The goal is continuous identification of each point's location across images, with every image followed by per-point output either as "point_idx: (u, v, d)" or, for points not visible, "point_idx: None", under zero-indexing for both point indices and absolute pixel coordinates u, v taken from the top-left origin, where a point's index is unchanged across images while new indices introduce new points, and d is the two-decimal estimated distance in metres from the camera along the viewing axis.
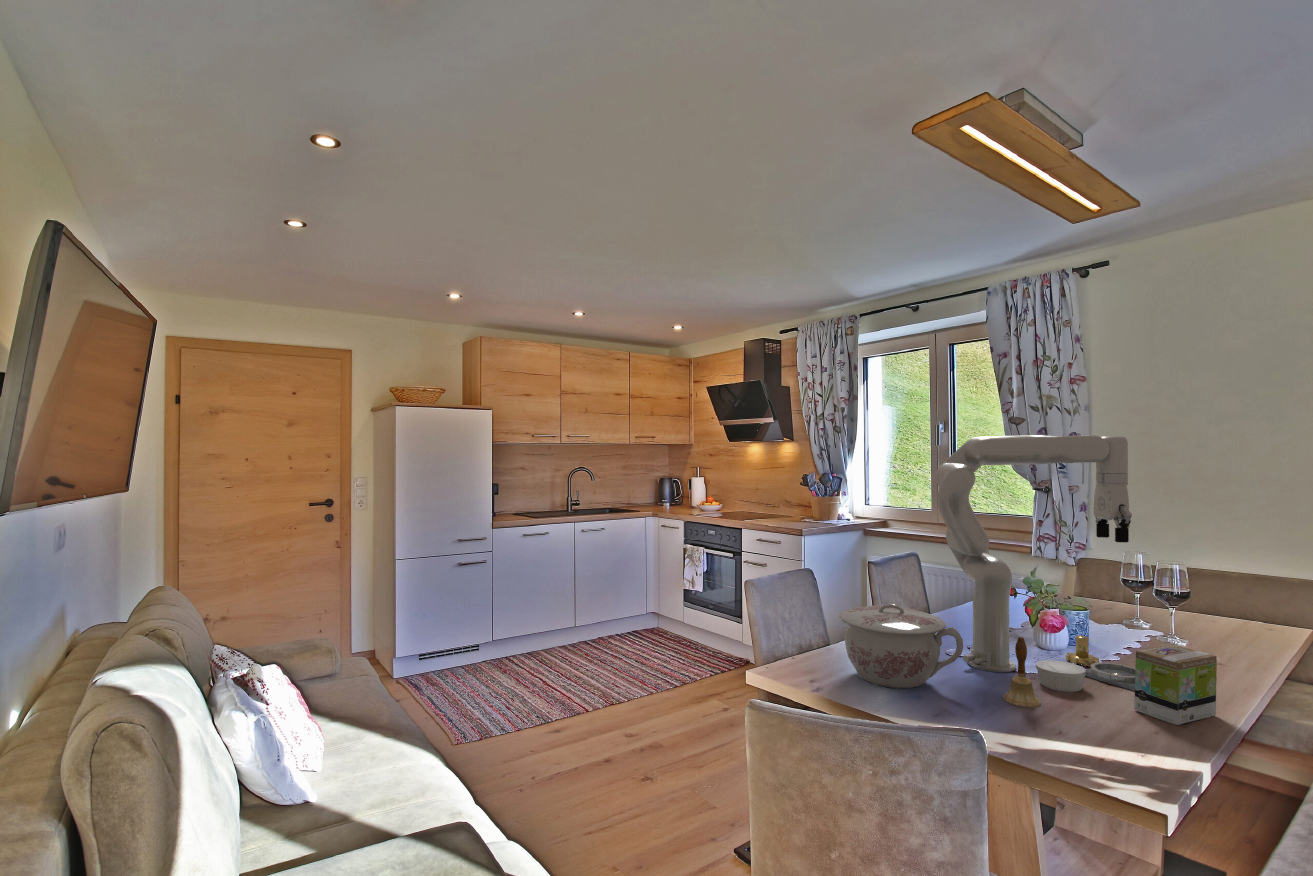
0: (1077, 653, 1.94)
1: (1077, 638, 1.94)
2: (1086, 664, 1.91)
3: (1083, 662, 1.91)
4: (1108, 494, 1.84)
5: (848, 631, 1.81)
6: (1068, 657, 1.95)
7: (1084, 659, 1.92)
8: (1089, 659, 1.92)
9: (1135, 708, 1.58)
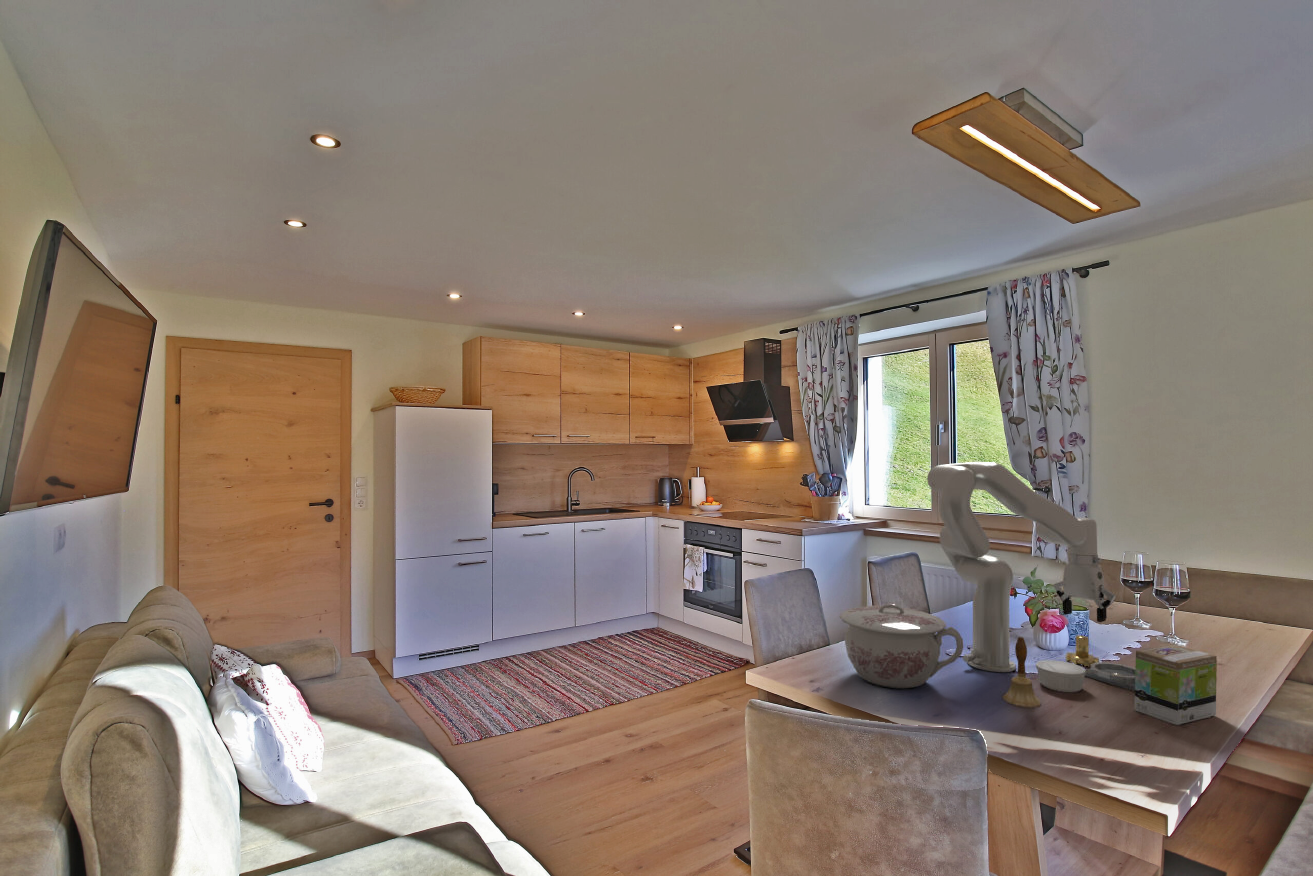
0: (1077, 653, 1.94)
1: (1077, 638, 1.94)
2: (1086, 664, 1.91)
3: (1083, 662, 1.91)
4: None
5: (848, 631, 1.81)
6: (1068, 657, 1.95)
7: (1084, 659, 1.92)
8: (1089, 659, 1.92)
9: (1135, 708, 1.58)
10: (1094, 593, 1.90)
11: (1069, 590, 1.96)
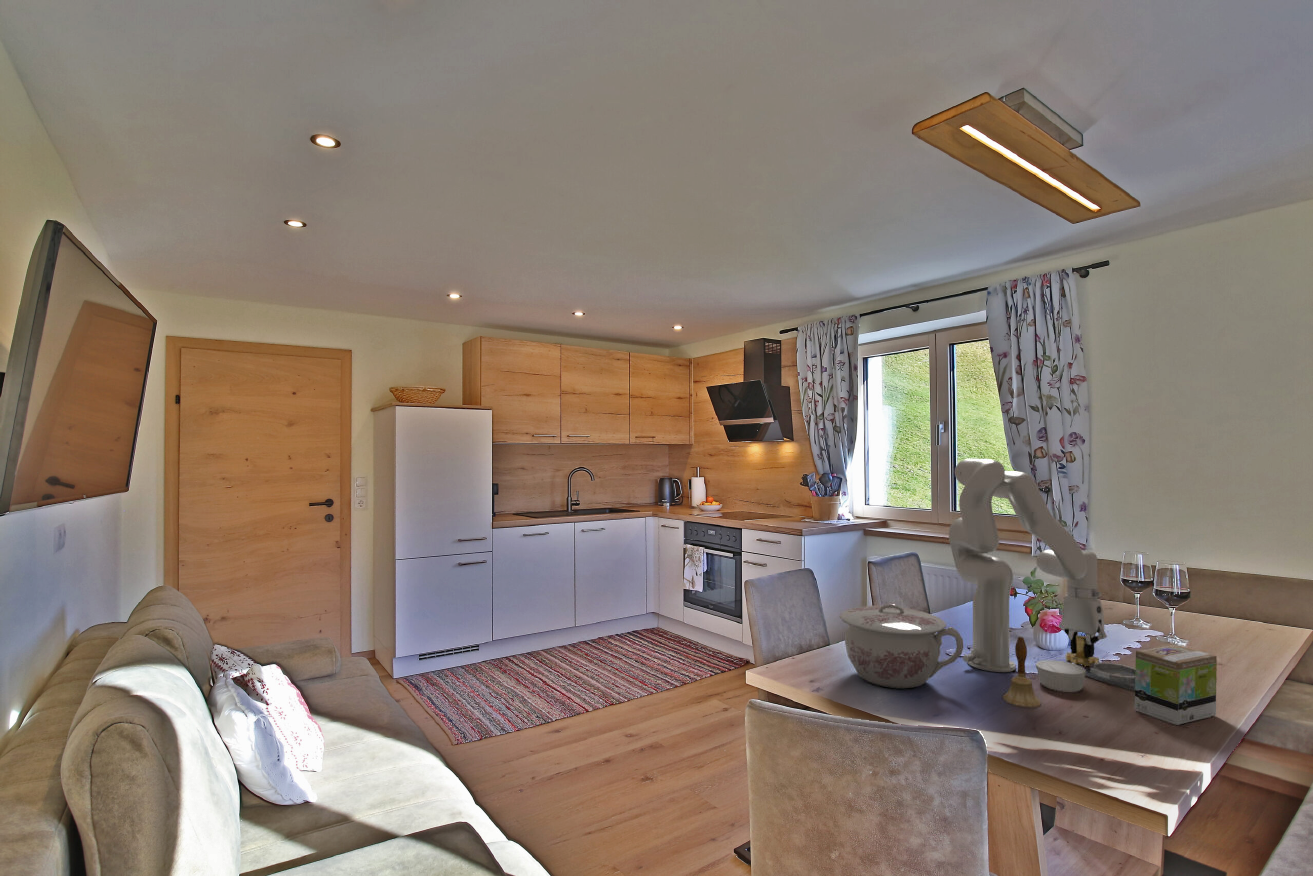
0: (1077, 653, 1.94)
1: (1077, 638, 1.94)
2: (1086, 664, 1.91)
3: (1083, 662, 1.91)
4: None
5: (848, 631, 1.81)
6: (1068, 657, 1.95)
7: (1084, 659, 1.92)
8: (1089, 659, 1.92)
9: (1135, 708, 1.58)
10: (1093, 627, 1.90)
11: (1068, 623, 1.96)
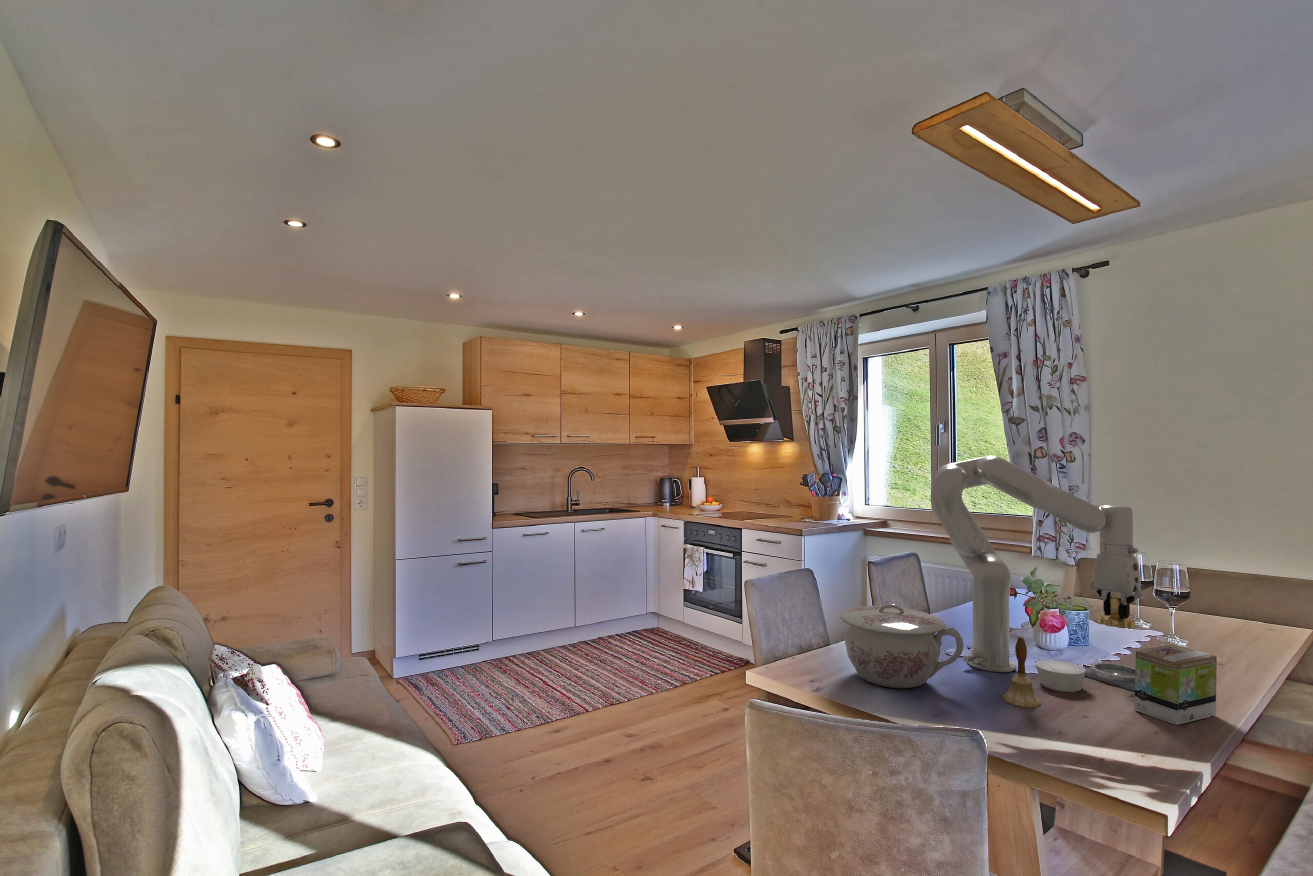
0: (1111, 615, 1.81)
1: (1111, 598, 1.81)
2: (1122, 626, 1.77)
3: (1118, 623, 1.78)
4: None
5: (848, 631, 1.81)
6: (1101, 619, 1.82)
7: (1119, 620, 1.78)
8: (1124, 620, 1.79)
9: (1135, 708, 1.58)
10: (1129, 586, 1.76)
11: (1101, 582, 1.83)
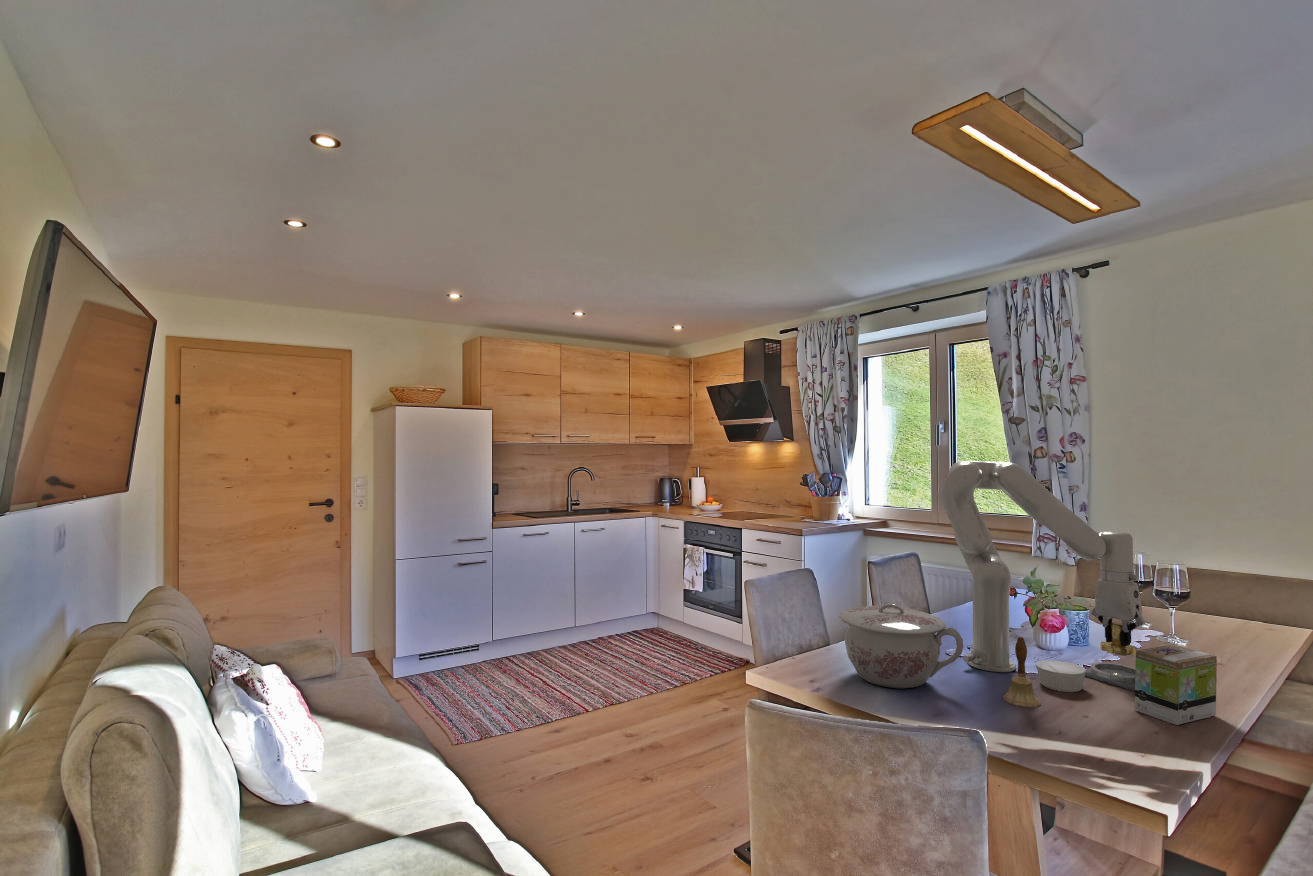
0: (1113, 641, 1.81)
1: (1112, 625, 1.81)
2: (1123, 653, 1.77)
3: (1120, 651, 1.77)
4: None
5: (848, 631, 1.81)
6: (1103, 646, 1.81)
7: (1121, 648, 1.78)
8: (1126, 647, 1.79)
9: (1135, 708, 1.58)
10: (1130, 613, 1.76)
11: (1102, 609, 1.82)
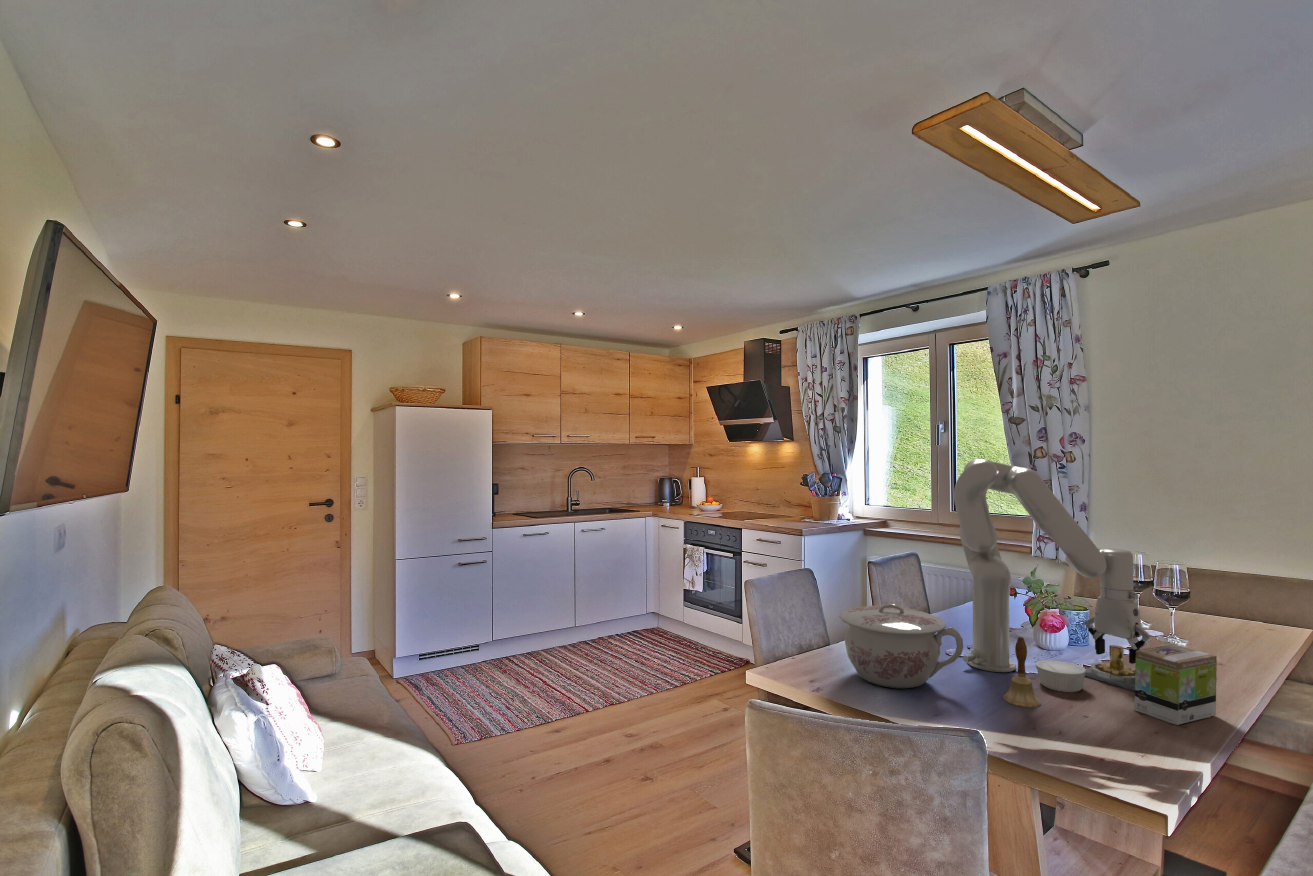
0: (1111, 664, 1.81)
1: (1111, 648, 1.81)
2: None
3: (1118, 674, 1.77)
4: None
5: (848, 631, 1.81)
6: (1101, 668, 1.81)
7: (1119, 671, 1.78)
8: (1124, 670, 1.79)
9: (1135, 708, 1.58)
10: (1129, 631, 1.76)
11: (1101, 626, 1.82)
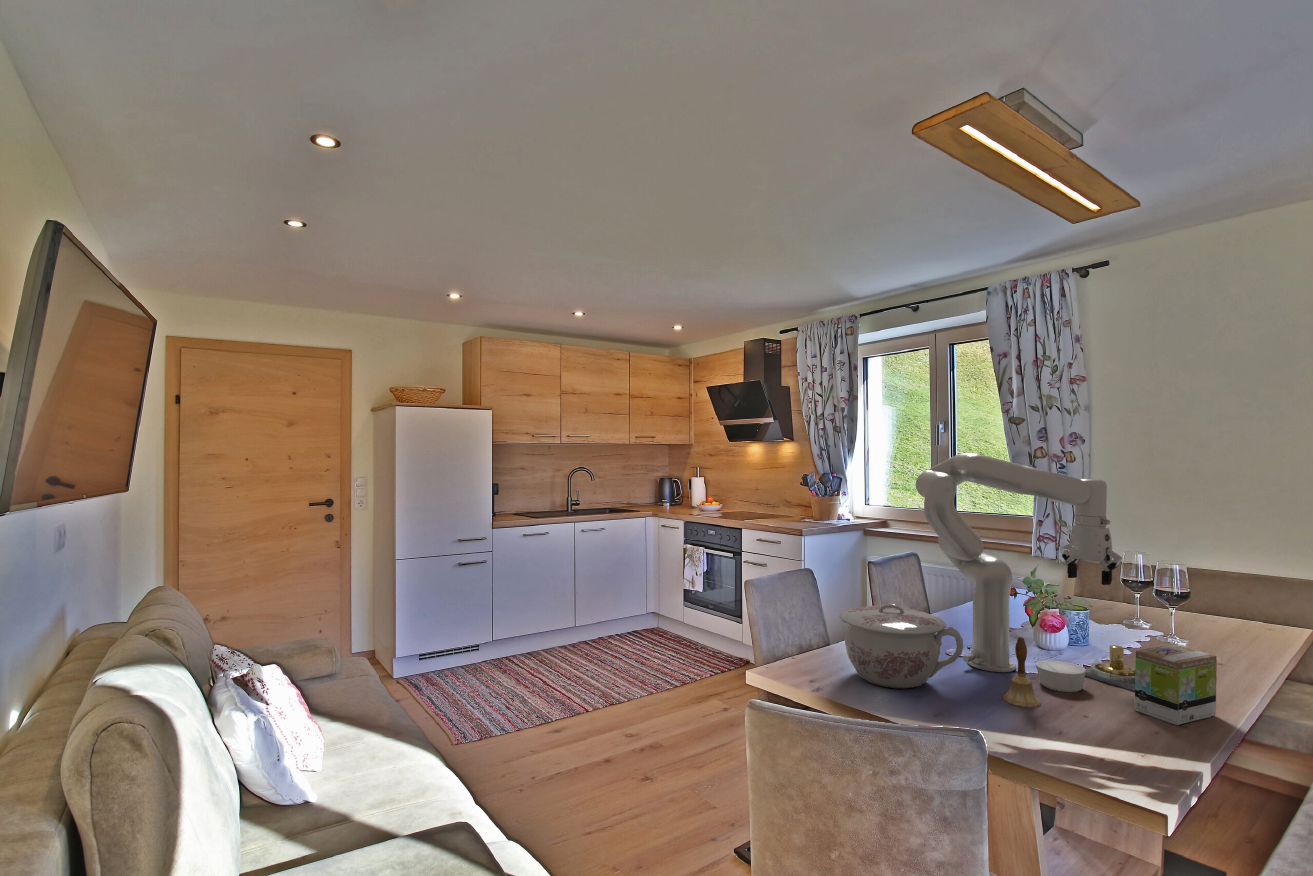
0: (1111, 664, 1.81)
1: (1111, 648, 1.81)
2: None
3: (1118, 674, 1.77)
4: None
5: (848, 631, 1.81)
6: (1101, 668, 1.81)
7: (1119, 671, 1.78)
8: (1124, 670, 1.79)
9: (1135, 708, 1.58)
10: (1100, 555, 1.85)
11: (1075, 552, 1.91)
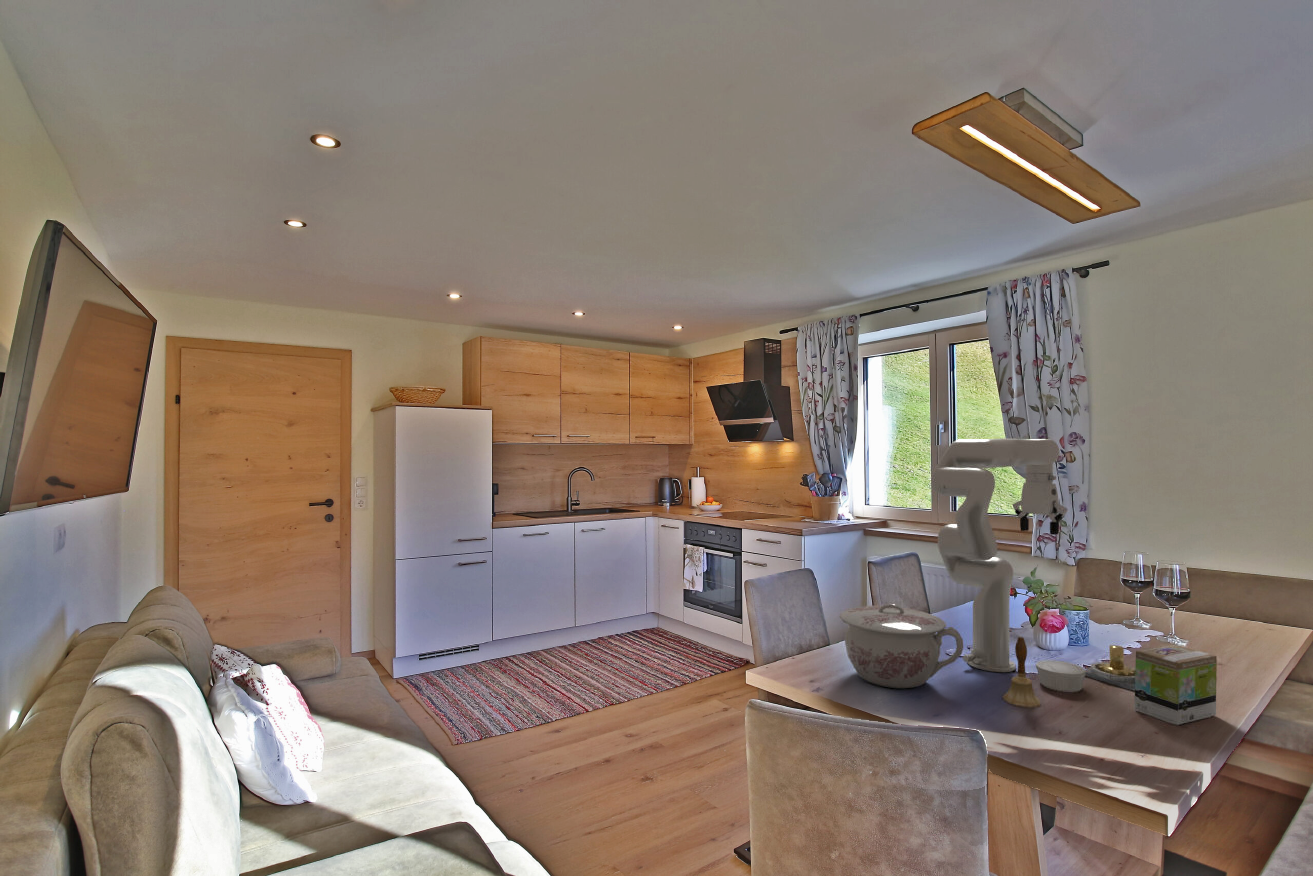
0: (1111, 664, 1.81)
1: (1111, 648, 1.81)
2: None
3: (1118, 674, 1.77)
4: None
5: (848, 631, 1.81)
6: (1101, 668, 1.81)
7: (1119, 671, 1.78)
8: (1124, 670, 1.79)
9: (1135, 708, 1.58)
10: (1048, 508, 2.05)
11: (1026, 507, 2.11)
